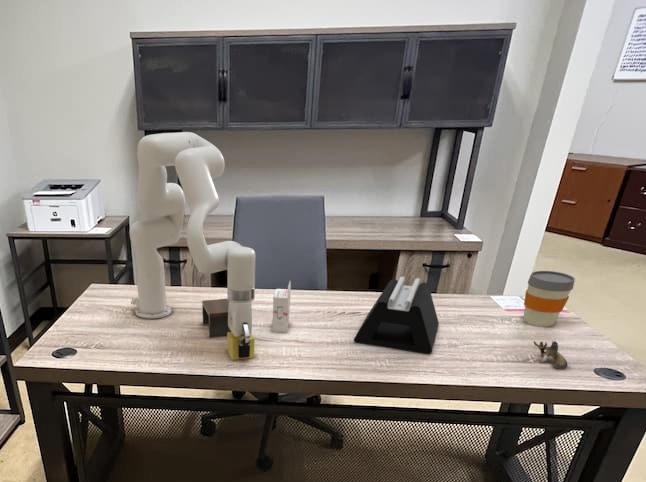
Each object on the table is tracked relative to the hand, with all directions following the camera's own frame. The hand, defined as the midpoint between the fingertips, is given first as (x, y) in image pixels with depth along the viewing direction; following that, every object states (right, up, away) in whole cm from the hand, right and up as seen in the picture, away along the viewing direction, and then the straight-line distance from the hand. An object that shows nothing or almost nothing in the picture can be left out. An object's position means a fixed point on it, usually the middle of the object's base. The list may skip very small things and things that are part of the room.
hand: (240, 350), depth 156 cm
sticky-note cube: (0, -1, +1) cm, 1 cm away
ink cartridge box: (+14, +9, +17) cm, 24 cm away
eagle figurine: (+87, -4, -7) cm, 87 cm away
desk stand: (-4, +9, +17) cm, 20 cm away
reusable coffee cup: (+99, +11, +18) cm, 101 cm away
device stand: (+50, +6, +11) cm, 52 cm away
